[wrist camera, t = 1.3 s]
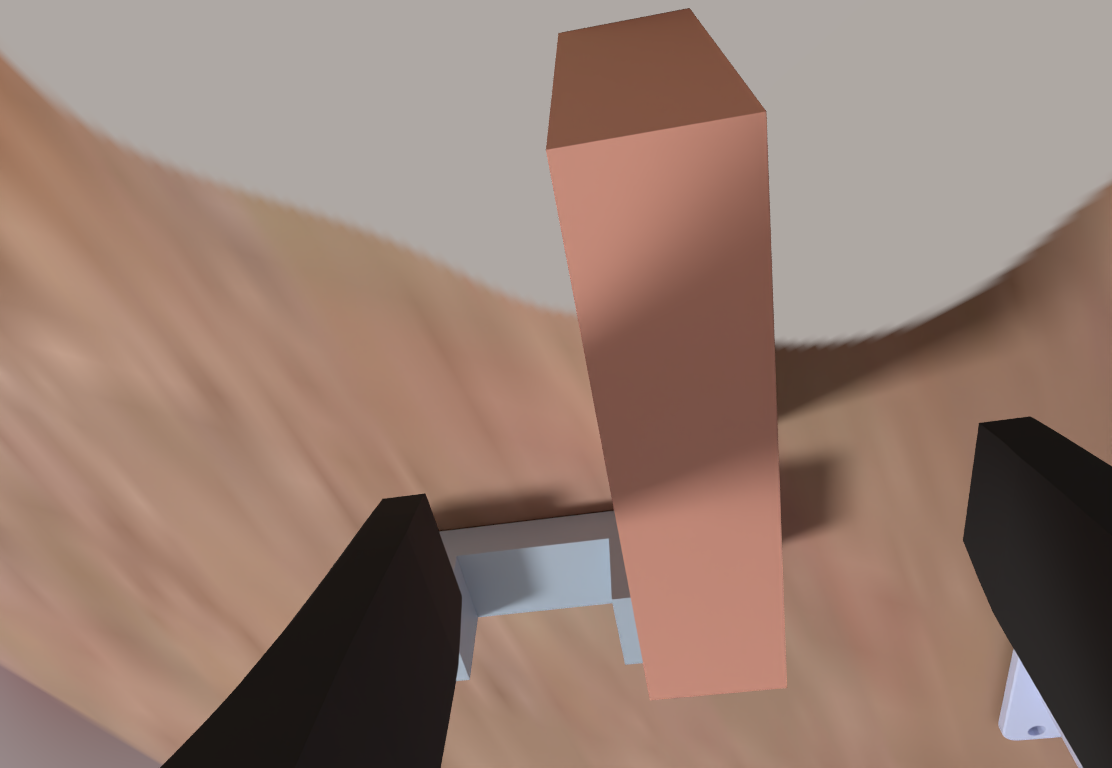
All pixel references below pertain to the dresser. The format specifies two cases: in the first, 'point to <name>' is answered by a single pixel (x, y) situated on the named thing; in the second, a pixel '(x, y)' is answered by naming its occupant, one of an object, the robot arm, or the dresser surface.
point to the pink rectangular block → (678, 338)
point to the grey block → (540, 573)
